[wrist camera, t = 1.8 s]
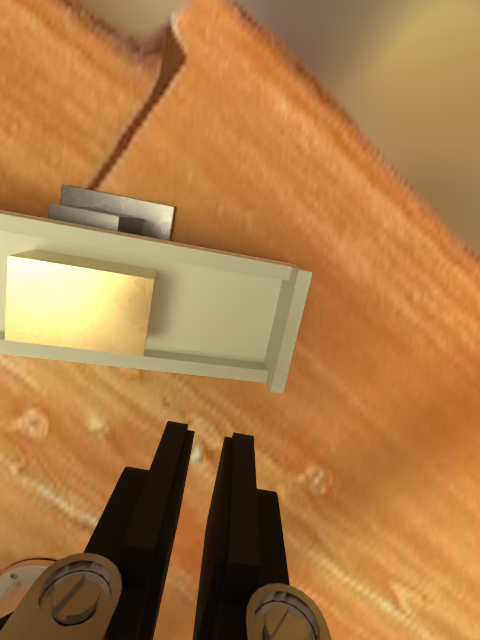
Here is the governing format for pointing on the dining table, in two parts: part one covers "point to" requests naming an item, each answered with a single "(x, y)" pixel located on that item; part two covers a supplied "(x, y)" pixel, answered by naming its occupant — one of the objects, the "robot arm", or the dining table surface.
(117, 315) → the block
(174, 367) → the balance beam
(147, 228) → the pivot stand
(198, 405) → the dining table surface
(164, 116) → the dining table surface
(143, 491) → the robot arm
